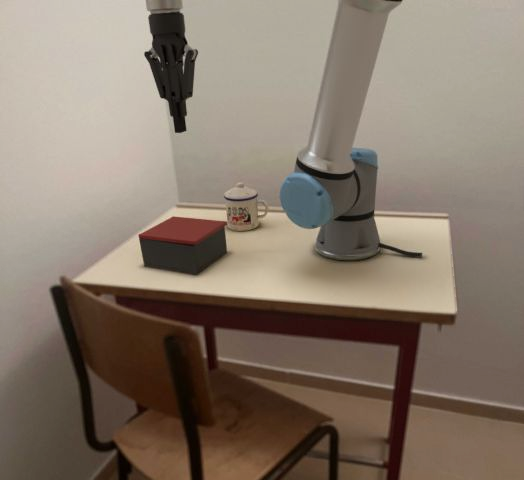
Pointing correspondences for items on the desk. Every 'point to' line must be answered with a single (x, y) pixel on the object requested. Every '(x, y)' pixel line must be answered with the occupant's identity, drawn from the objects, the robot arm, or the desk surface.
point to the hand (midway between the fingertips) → (180, 131)
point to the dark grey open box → (184, 253)
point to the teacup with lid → (243, 208)
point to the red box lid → (183, 230)
